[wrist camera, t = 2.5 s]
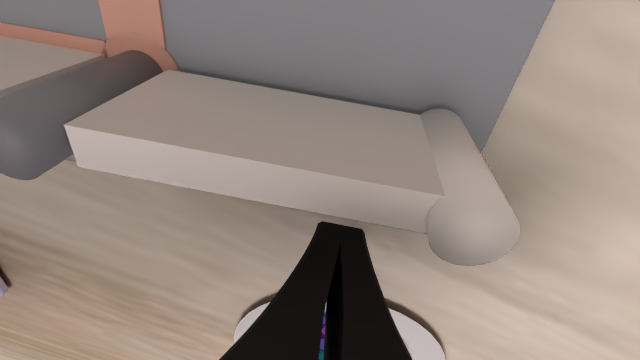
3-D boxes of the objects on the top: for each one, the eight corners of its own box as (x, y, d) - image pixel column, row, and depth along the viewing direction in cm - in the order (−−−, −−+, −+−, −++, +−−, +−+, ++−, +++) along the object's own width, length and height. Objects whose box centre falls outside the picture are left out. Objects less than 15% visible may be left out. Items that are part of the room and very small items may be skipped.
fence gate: (173, 110, 10) (68, 189, 7) (167, 59, 10) (41, 119, 6) (452, 161, 10) (496, 272, 7) (472, 113, 9) (538, 212, 6)
